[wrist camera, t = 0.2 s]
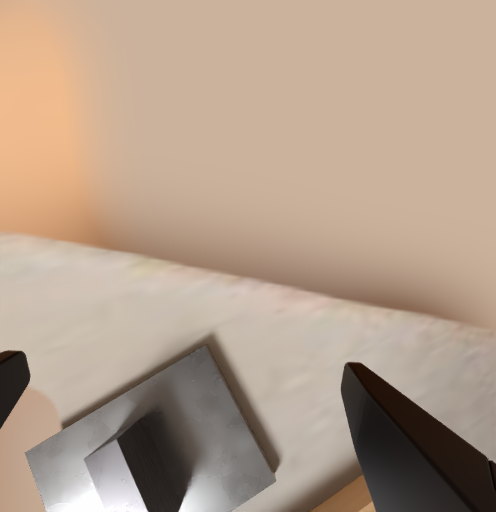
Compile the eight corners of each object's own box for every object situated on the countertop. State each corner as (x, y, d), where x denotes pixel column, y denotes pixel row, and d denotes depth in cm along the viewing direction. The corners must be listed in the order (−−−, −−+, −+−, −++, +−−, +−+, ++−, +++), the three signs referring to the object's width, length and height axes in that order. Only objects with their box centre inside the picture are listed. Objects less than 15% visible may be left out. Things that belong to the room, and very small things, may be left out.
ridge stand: (275, 473, 20) (281, 521, 16) (91, 595, 19) (35, 689, 14) (206, 344, 22) (193, 351, 18) (35, 446, 21) (-31, 484, 16)
